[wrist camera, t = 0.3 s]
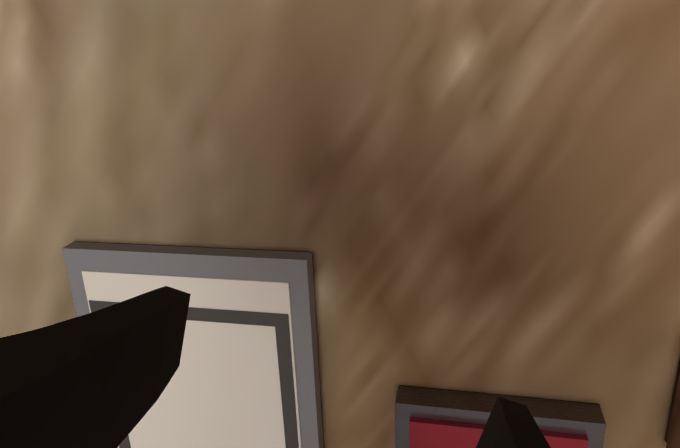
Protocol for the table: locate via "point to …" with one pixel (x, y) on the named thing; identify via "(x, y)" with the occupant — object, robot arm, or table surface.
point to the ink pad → (473, 412)
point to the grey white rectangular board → (220, 341)
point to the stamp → (674, 417)
